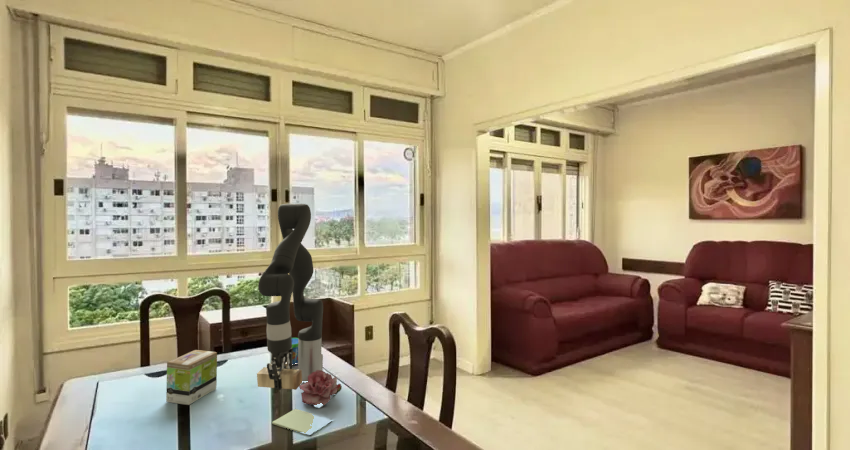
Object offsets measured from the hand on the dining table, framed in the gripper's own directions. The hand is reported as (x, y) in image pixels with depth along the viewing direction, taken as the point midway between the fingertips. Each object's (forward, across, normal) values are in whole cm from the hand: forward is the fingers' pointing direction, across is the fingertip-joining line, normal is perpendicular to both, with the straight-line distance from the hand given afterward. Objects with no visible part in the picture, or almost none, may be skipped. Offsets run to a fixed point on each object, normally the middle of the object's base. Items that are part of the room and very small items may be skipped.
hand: (281, 385), depth 149 cm
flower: (+15, +19, -5) cm, 25 cm away
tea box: (+14, +13, +42) cm, 46 cm away
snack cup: (+17, +51, +21) cm, 58 cm away
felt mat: (+14, +2, -6) cm, 15 cm away
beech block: (-2, 0, +7) cm, 8 cm away
